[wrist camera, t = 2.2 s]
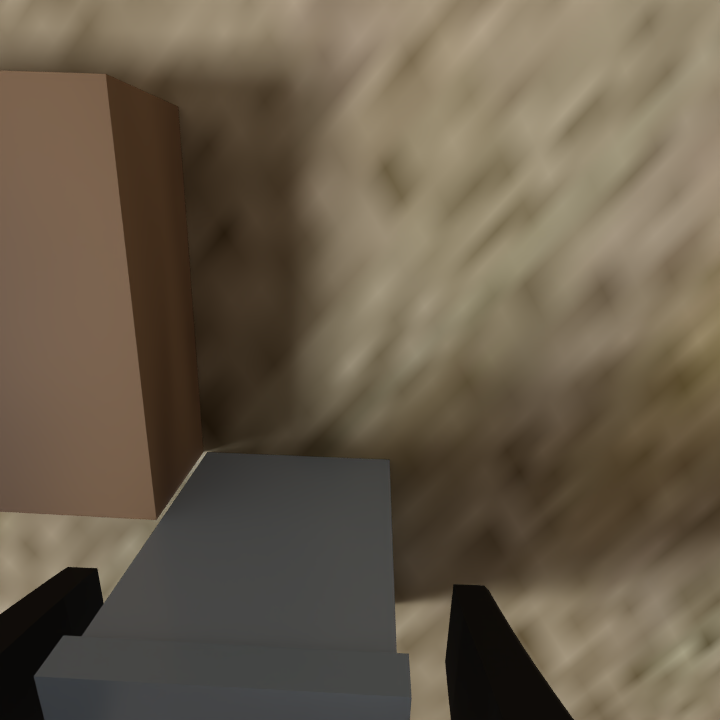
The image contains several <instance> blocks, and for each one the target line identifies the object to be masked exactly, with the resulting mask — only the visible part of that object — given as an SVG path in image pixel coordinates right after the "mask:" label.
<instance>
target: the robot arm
mask: <svg viewBox="0 0 720 720" xmlns="http://www.w3.org/2000/svg"><path fill="white" fill-rule="evenodd" d="M103 604H104V603H103V597H102V592H101V586H100V581H99V575H98V570H97V568H78V567H67V568H66V569H64V570H63V571H61V572H60V573H58V574H57V575H55V576H54V577H52V578H51V579H49V580H48V581H46V582H45V583H44V584H42V585H41V586H39V587H38V588H36V589H35V590H34V591H32V592H31V593H29V594H28V595H27V596H25V597H24V598H22V599H21V600H20V601H18V602H17V603H15V604H14V605H13V606H11V607H10V608H8V609H7V610H6V611H4V612H3V613H1V614H0V720H44V716H43V712H42V708H41V704H40V700H39V696H38V692H37V688H36V684H35V680H34V675H35V674H36V673H37V671H38V670H39V668H40V667H41V666H42V664H43V663H44V662H45V660H46V659H47V657H48V656H49V655H50V653H51V652H52V650H53V649H54V648H55V646H56V645H57V644H58V642H59V641H60V639H61V638H62V637H63V636H82V635H83V633H84V632H85V631H86V629H87V628H88V626H89V625H90V623H91V622H92V620H93V619H94V617H95V616H96V614H97V613H98V611H99V610H100V609H101V607H102V606H103ZM445 664H446V675H447V685H448V696H449V705H450V715H451V720H574V719H573V718H572V717H571V715H570V714H569V712H568V711H567V710H566V708H565V707H564V706H563V704H562V703H561V701H560V700H559V699H558V697H557V696H556V694H555V693H554V692H553V690H552V689H551V687H550V686H549V684H548V683H547V681H546V680H545V679H544V677H543V676H542V674H541V673H540V671H539V670H538V668H537V667H536V666H535V664H534V663H533V661H532V660H531V658H530V657H529V655H528V654H527V652H526V651H525V649H524V647H523V646H522V644H521V643H520V641H519V640H518V638H517V636H516V635H515V633H514V632H513V630H512V629H511V627H510V625H509V624H508V622H507V620H506V619H505V617H504V616H503V614H502V612H501V611H500V609H499V607H498V605H497V604H496V602H495V600H494V599H493V597H492V595H491V593H490V591H489V590H488V589H487V588H486V587H485V586H480V585H458V584H453V594H452V603H451V612H450V622H449V631H448V641H447V650H446V660H445Z"/></svg>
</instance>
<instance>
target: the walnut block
mask: <svg viewBox="0 0 720 720" xmlns="http://www.w3.org/2000/svg"><path fill="white" fill-rule="evenodd" d="M202 453H203V438H202V424H201V411H200V397H199V383H198V370H197V356H196V342H195V329H194V315H193V301H192V288H191V274H190V260H189V247H188V233H187V219H186V206H185V192H184V178H183V165H182V151H181V137H180V124H179V110H178V107H177V106H175V105H173V104H171V103H169V102H166V101H164V100H162V99H160V98H158V97H155V96H153V95H151V94H149V93H147V92H144V91H142V90H140V89H138V88H136V87H133V86H131V85H129V84H127V83H125V82H122V81H120V80H118V79H116V78H114V77H111V76H109V75H107V74H94V73H63V72H32V71H1V70H0V511H1V512H19V513H38V514H56V515H75V516H93V517H112V518H130V519H149V520H157V518H158V517H159V515H160V514H161V513H162V511H163V510H164V508H165V507H166V505H167V504H168V502H169V501H170V500H171V498H172V497H173V495H174V494H175V492H176V491H177V489H178V488H179V487H180V485H181V484H182V482H183V481H184V479H185V478H186V476H187V475H188V473H189V472H190V471H191V469H192V468H193V466H194V465H195V463H196V462H197V460H198V459H199V458H200V456H201V455H202Z"/></svg>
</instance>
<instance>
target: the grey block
mask: <svg viewBox="0 0 720 720" xmlns="http://www.w3.org/2000/svg"><path fill="white" fill-rule="evenodd" d="M34 680H35V684H36V688H37V692H38V696H39V700H40V704H41V708H42V712H43V716H44V720H410V709H411V683H410V667H409V654H403V653H397V651H396V624H395V596H394V569H393V542H392V514H391V487H390V460H385V459H361V458H336V457H312V456H288V455H263V454H239V453H215V452H207V454H206V455H205V456H204V458H203V459H202V461H201V462H200V464H199V465H198V467H197V468H196V470H195V471H194V473H193V474H192V475H191V477H190V478H189V480H188V481H187V483H186V484H185V486H184V487H183V489H182V490H181V492H180V493H179V494H178V496H177V497H176V499H175V500H174V502H173V503H172V505H171V506H170V508H169V509H168V511H167V512H166V513H165V515H164V516H163V518H162V519H161V521H160V522H159V524H158V525H157V527H156V528H155V530H154V531H153V532H152V534H151V535H150V537H149V538H148V540H147V541H146V543H145V544H144V546H143V547H142V549H141V550H140V552H139V553H138V554H137V556H136V557H135V559H134V560H133V562H132V563H131V565H130V566H129V568H128V569H127V571H126V572H125V573H124V575H123V576H122V578H121V579H120V581H119V582H118V584H117V585H116V587H115V588H114V590H113V591H112V592H111V594H110V595H109V597H108V598H107V600H106V601H105V603H104V604H103V606H102V607H101V609H100V610H99V611H98V613H97V614H96V616H95V617H94V619H93V620H92V622H91V623H90V625H89V626H88V628H87V629H86V631H85V632H84V633H83V635H82V636H63V637H62V638H61V639H60V641H59V642H58V644H57V645H56V646H55V648H54V649H53V650H52V652H51V653H50V655H49V656H48V657H47V659H46V660H45V662H44V663H43V664H42V666H41V667H40V668H39V670H38V671H37V673H36V674H35V675H34Z"/></svg>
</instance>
